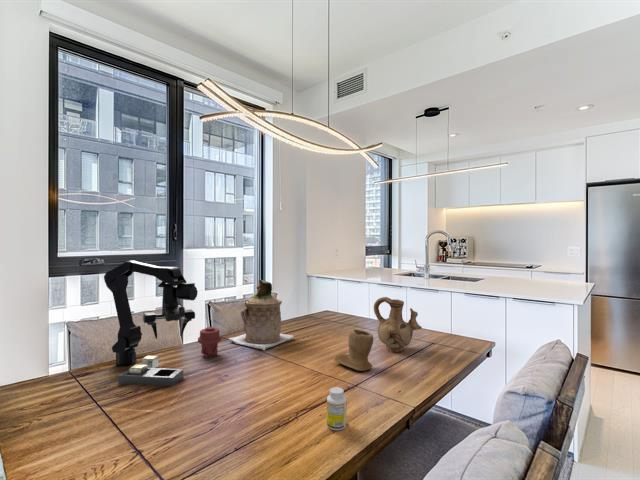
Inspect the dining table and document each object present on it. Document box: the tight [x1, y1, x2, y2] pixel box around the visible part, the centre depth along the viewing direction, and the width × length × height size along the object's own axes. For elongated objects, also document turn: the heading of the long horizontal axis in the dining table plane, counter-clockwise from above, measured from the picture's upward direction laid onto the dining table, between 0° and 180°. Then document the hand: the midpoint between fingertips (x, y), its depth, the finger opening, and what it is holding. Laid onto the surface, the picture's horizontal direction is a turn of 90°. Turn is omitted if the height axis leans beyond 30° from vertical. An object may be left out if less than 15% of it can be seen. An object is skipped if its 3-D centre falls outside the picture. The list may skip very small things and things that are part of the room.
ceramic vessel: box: [373, 296, 423, 352], centre depth 164 cm, size 18×19×25 cm
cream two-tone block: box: [141, 355, 159, 368], centre depth 136 cm, size 4×4×5 cm
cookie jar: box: [228, 279, 295, 351], centre depth 176 cm, size 25×25×32 cm
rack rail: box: [117, 367, 184, 387], centre depth 125 cm, size 20×8×4 cm, turn 86°
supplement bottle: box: [326, 386, 347, 431], centre depth 97 cm, size 6×6×10 cm
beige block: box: [129, 364, 147, 375], centre depth 125 cm, size 4×4×5 cm
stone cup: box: [333, 328, 374, 372], centre depth 142 cm, size 15×12×15 cm
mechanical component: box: [197, 326, 222, 359], centre depth 153 cm, size 12×10×10 cm
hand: (168, 337), depth 138 cm, fingers open, 9 cm apart
